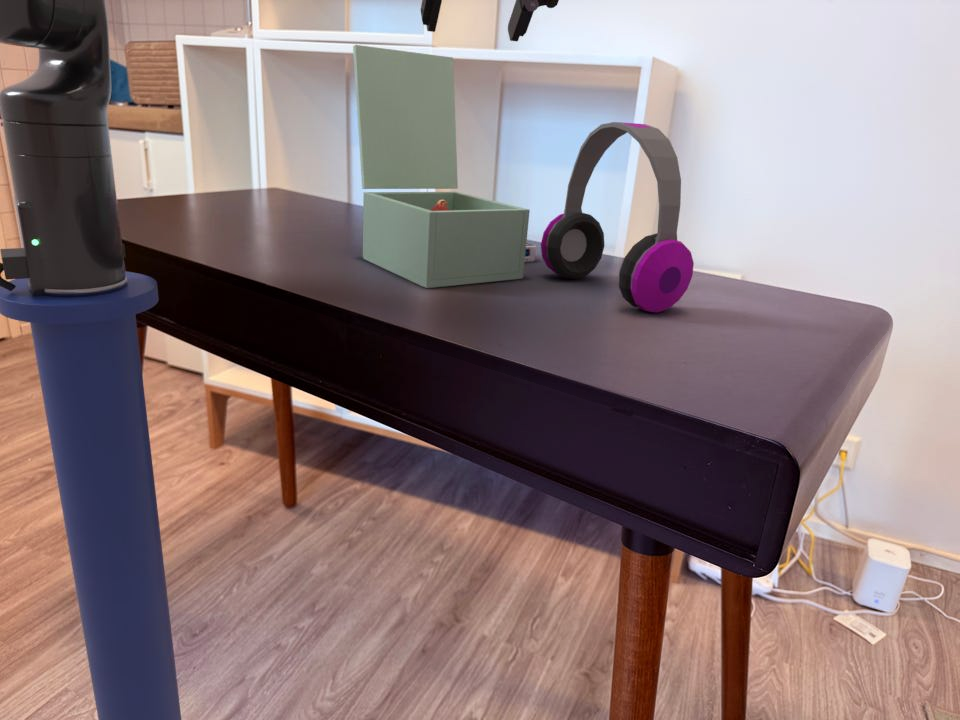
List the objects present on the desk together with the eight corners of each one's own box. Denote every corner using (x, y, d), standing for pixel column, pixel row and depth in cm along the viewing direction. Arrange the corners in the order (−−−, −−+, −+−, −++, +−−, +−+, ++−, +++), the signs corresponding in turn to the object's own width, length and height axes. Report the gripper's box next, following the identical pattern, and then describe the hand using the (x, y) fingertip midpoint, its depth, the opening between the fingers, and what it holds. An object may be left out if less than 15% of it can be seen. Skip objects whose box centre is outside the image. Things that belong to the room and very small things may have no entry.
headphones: (532, 274, 89) (548, 116, 82) (584, 271, 93) (604, 121, 86) (634, 319, 72) (665, 125, 65) (693, 313, 76) (728, 130, 69)
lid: (453, 57, 92) (436, 63, 95) (355, 44, 84) (340, 51, 87) (457, 188, 96) (441, 189, 99) (364, 188, 87) (350, 190, 91)
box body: (523, 278, 87) (529, 209, 84) (426, 288, 78) (429, 212, 75) (452, 252, 99) (456, 191, 96) (362, 258, 91) (363, 192, 88)
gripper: (437, -131, 48) (404, 51, 63) (612, -99, 52) (545, 65, 67) (425, -192, 51) (397, -5, 66) (593, -157, 55) (532, 12, 70)
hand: (471, 30), depth 66 cm, fingers open, 8 cm apart
